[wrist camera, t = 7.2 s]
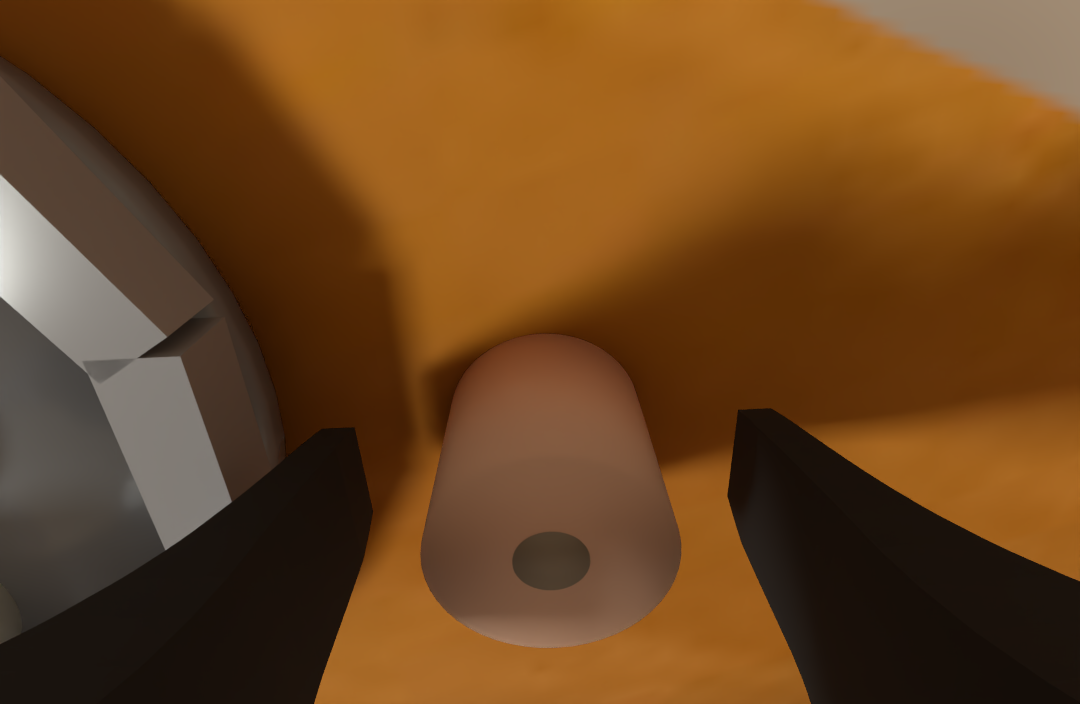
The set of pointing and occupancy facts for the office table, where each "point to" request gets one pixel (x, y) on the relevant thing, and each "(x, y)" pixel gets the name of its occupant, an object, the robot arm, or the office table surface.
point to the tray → (109, 365)
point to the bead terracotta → (548, 499)
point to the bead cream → (8, 616)
